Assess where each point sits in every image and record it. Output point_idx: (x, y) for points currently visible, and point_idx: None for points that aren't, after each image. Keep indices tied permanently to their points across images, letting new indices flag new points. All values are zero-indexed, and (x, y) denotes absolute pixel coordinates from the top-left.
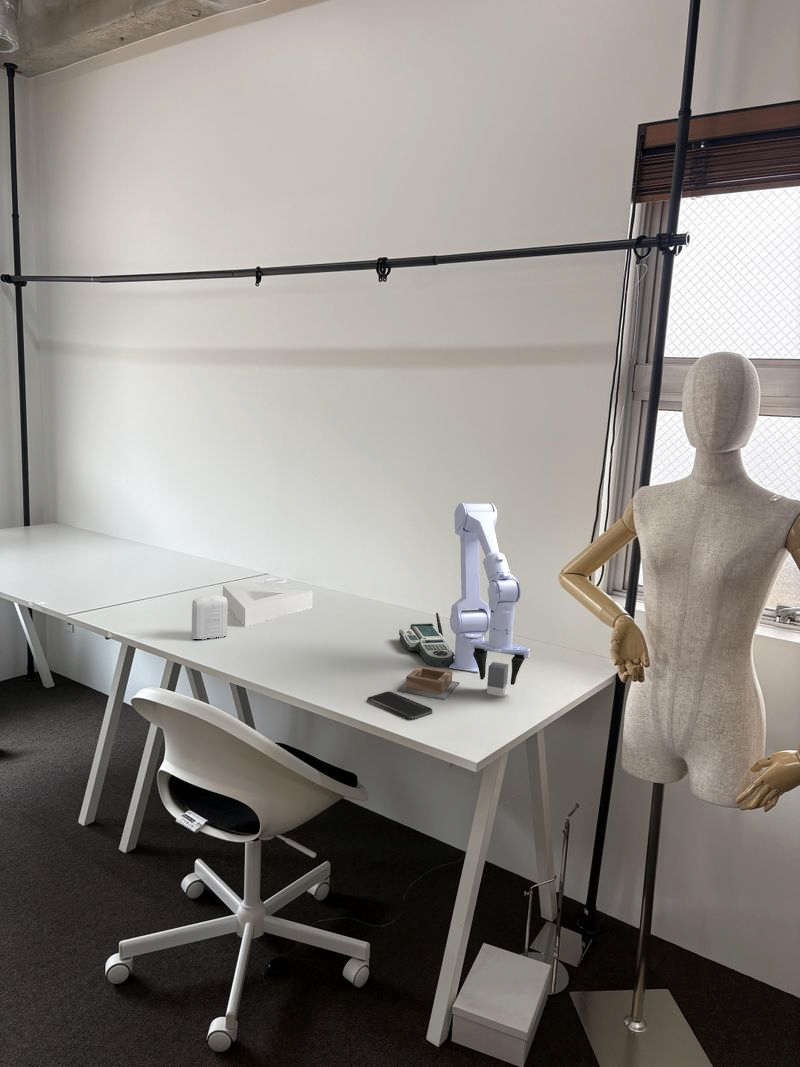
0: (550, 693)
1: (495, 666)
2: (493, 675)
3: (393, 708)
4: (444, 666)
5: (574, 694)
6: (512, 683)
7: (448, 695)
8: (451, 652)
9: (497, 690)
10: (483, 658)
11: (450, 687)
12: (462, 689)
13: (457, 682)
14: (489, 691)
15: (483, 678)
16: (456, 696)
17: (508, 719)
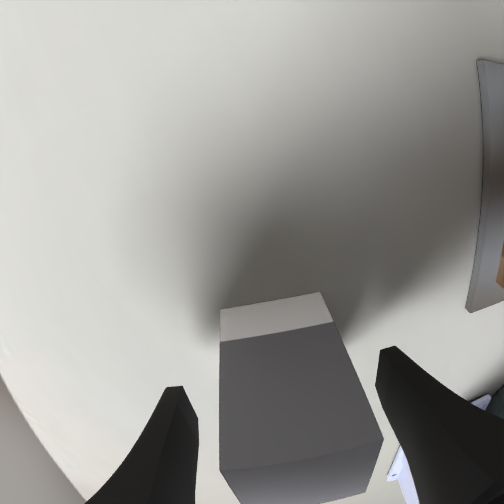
0: (90, 427)
1: (323, 467)
2: (313, 392)
3: None
4: (499, 390)
5: (46, 439)
6: (167, 393)
7: (483, 133)
8: None
9: (257, 323)
10: (450, 475)
11: (497, 226)
12: (447, 261)
13: (476, 305)
14: (307, 304)
15: (380, 363)
16: (451, 143)
17: (34, 12)
